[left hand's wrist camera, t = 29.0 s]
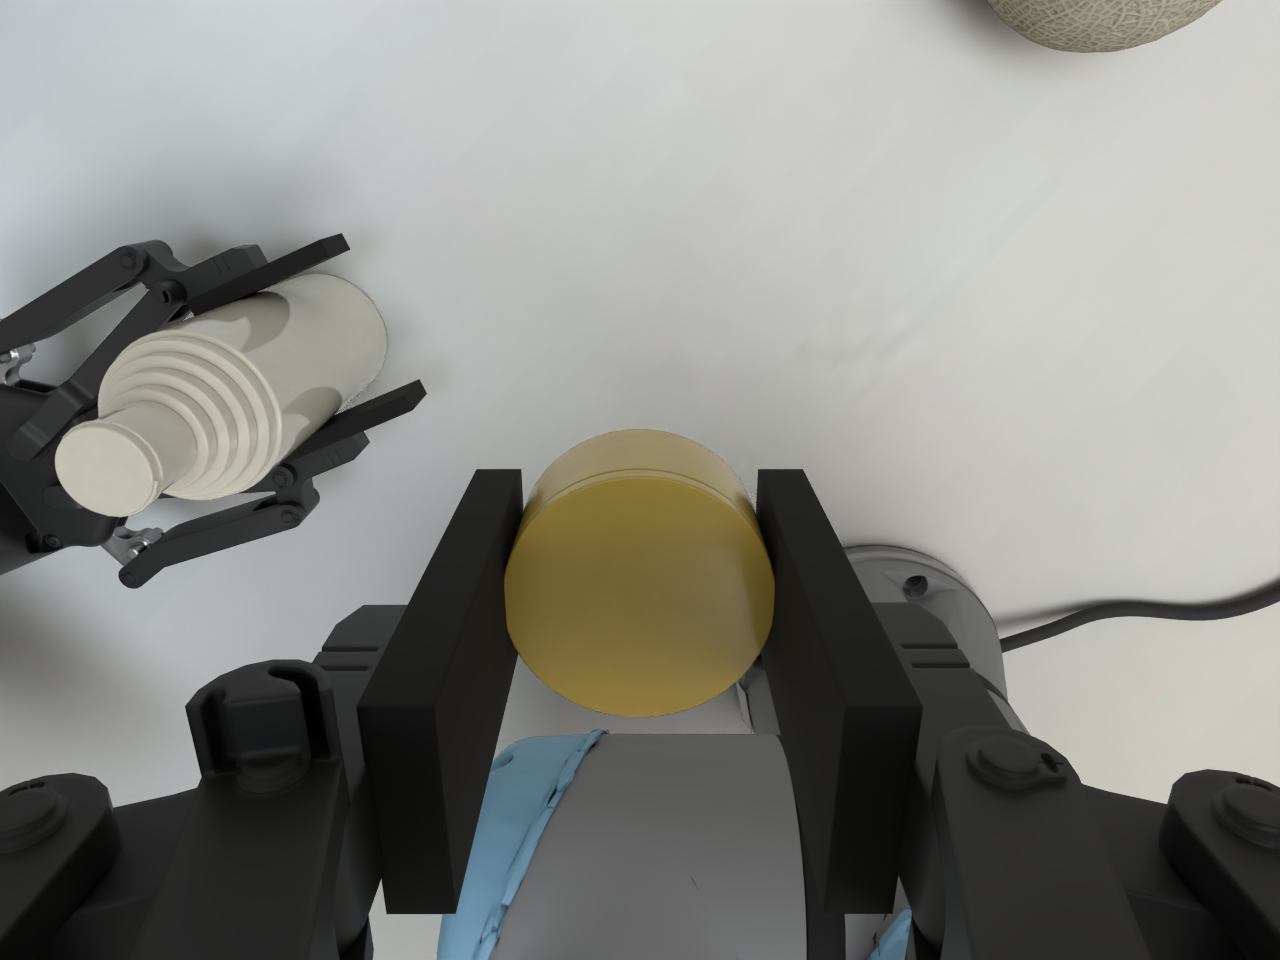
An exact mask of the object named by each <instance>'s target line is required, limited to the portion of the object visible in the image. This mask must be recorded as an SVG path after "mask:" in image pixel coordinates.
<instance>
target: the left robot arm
mask: <svg viewBox="0 0 1280 960" xmlns="http://www.w3.org/2000/svg"><path fill="white" fill-rule="evenodd" d="M522 515H523V494H522V476H521V469H477V470H476V472H475V474H474V475H473V477H472V479H471V481H470V483H469V485H468V487H467V489H466V491H465V493H464V495H463V497H462V499H461V501H460V503H459V505H458V507H457V509H456V511H455V513H454V515H453V517H452V519H451V521H450V523H449V525H448V527H447V529H446V531H445V533H444V535H443V537H442V539H441V541H440V543H439V544H438V546H437V548H436V550H435V552H434V554H433V556H432V558H431V560H430V562H429V564H428V566H427V568H426V570H425V572H424V574H423V576H422V578H421V580H420V582H419V584H418V586H417V588H416V590H415V592H414V594H413V596H412V598H411V600H410V602H409V604H408V605H363V606H362V607H360V608H359V609H357V610H356V611H355V612H353V613H352V614H350V615H349V616H348V617H346V618H345V619H343V620H342V621H341V622H339V623H338V624H336V626H335V628H334V629H333V631H332V632H331V634H330V635H329V637H328V639H327V640H326V642H325V643H324V645H323V646H322V652H319V653H318V654H317V656H316V657H315V659H314V661H313V662H312V663H309V662H306V661H302V660H269V661H264V662H259V663H255V664H250V665H245V666H243V667H240V668H238V669H235V670H233V671H230V672H228V673H225V674H223V675H220V676H219V677H217V678H216V679H214V680H213V681H211V682H210V683H208V684H207V685H205V686H204V687H202V688H201V689H199V690H198V691H197V692H196V694H195V695H194V696H193V697H192V698H191V700H190V701H189V702H188V703H187V705H186V706H185V708H186V713H187V717H188V721H189V725H190V730H191V734H192V738H193V742H194V746H195V751H196V755H197V759H198V763H199V767H200V772H201V776H202V778H201V780H200V783H199V785H198V787H197V788H195V789H191V790H188V791H184V792H181V793H177V794H174V795H170V796H165V797H161V798H156V799H151V800H147V801H142V802H138V803H133V804H129V805H124V806H119V807H115V808H113V806H112V802H111V799H110V795H109V792H108V788H107V787H106V786H105V785H103V784H102V783H101V782H100V781H99V780H98V779H97V778H95V777H92V776H87V775H81V774H76V773H68V774H58V775H48V776H42V777H39V778H36V779H31V780H29V781H25V782H22V783H19V784H16V785H13V786H11V787H9V788H7V789H5V790H3V791H1V792H0V960H373V950H374V949H373V942H372V935H371V928H370V922H369V916H368V914H369V912H370V909H371V906H372V903H373V900H374V897H375V895H376V892H377V889H378V886H379V883H380V880H381V879H382V885H383V892H384V899H385V906H386V912H387V914H443V916H442V921H441V928H440V934H439V941H438V949H437V960H1280V788H1279V787H1277V786H1275V785H1273V784H1271V783H1269V782H1267V781H1264V780H1261V779H1258V778H1255V777H1250V776H1248V775H1244V774H1240V773H1237V772H1229V771H1220V770H1210V769H1206V770H1201V771H1195V772H1190V773H1185V774H1184V775H1183V776H1182V777H1181V778H1180V779H1178V780H1177V781H1176V782H1175V783H1174V784H1173V786H1172V789H1171V793H1170V796H1169V800H1168V803H1167V804H1163V803H1158V802H1154V801H1149V800H1145V799H1140V798H1135V797H1131V796H1126V795H1122V794H1117V793H1112V792H1108V791H1104V790H1101V789H1097V788H1094V787H1090V786H1087V785H1084V784H1082V783H1081V781H1080V779H1079V776H1078V775H1077V773H1076V772H1075V770H1074V769H1073V767H1072V766H1071V764H1070V763H1069V762H1068V760H1067V759H1066V758H1065V757H1064V756H1063V755H1061V754H1060V753H1059V752H1057V751H1056V750H1055V749H1054V748H1052V747H1051V746H1050V745H1048V744H1047V743H1046V742H1043V741H1041V740H1039V739H1037V738H1035V737H1033V736H1031V735H1030V734H1029V732H1028V731H1027V729H1026V728H1025V726H1024V725H1023V723H1022V722H1021V720H1020V719H1019V718H1018V716H1017V715H1016V713H1015V712H1014V710H1013V709H1012V707H1011V706H1010V704H1009V703H1008V697H1007V689H1006V681H1005V674H1004V666H1003V658H1002V653H1004V652H1007V651H1010V650H1013V649H1016V648H1019V647H1022V646H1025V645H1028V644H1031V643H1035V642H1038V641H1041V640H1044V639H1047V638H1050V637H1053V636H1056V635H1058V634H1061V633H1063V632H1066V631H1068V630H1071V629H1073V628H1075V627H1078V626H1080V625H1083V624H1086V623H1089V622H1092V621H1096V620H1100V619H1105V618H1112V617H1124V616H1142V617H1156V618H1166V619H1177V620H1217V619H1224V618H1230V617H1234V616H1239V615H1243V614H1246V613H1250V612H1253V611H1256V610H1259V609H1262V608H1264V607H1267V606H1270V605H1272V604H1274V603H1277V602H1279V601H1280V586H1278V587H1276V588H1273V589H1271V590H1269V591H1267V592H1264V593H1262V594H1260V595H1257V596H1254V597H1252V598H1249V599H1246V600H1242V601H1239V602H1235V603H1231V604H1226V605H1221V606H1214V607H1202V608H1189V607H1174V606H1163V605H1153V604H1138V603H1123V604H1110V605H1103V606H1097V607H1093V608H1089V609H1085V610H1082V611H1079V612H1077V613H1074V614H1071V615H1069V616H1067V617H1064V618H1062V619H1059V620H1057V621H1054V622H1052V623H1049V624H1046V625H1043V626H1040V627H1037V628H1034V629H1031V630H1028V631H1025V632H1021V633H1018V634H1015V635H1012V636H1009V637H1006V638H1003V639H1000V640H999V637H998V633H997V630H996V627H995V625H994V622H993V620H992V618H991V616H990V614H989V613H988V611H987V609H986V608H985V606H984V605H983V604H982V602H981V601H980V600H979V598H978V597H977V595H976V594H975V593H974V591H973V590H972V589H971V587H970V586H969V585H968V584H967V583H966V582H965V581H964V580H963V579H962V578H961V577H960V576H959V575H958V574H957V573H955V572H954V571H953V570H952V569H950V568H949V567H947V566H946V565H944V564H943V563H941V562H939V561H937V560H935V559H933V558H931V557H929V556H926V555H924V554H921V553H918V552H914V551H911V550H907V549H902V548H897V547H888V546H863V547H854V548H847V549H843V548H842V546H841V544H840V542H839V540H838V538H837V536H836V534H835V532H834V530H833V528H832V526H831V524H830V522H829V520H828V518H827V516H826V514H825V512H824V510H823V508H822V506H821V504H820V502H819V500H818V498H817V496H816V494H815V492H814V490H813V488H812V486H811V485H810V483H809V481H808V479H807V477H806V475H805V473H804V471H803V469H758V484H757V502H756V517H757V520H758V523H759V526H760V529H761V533H762V536H763V539H764V542H765V545H766V548H767V551H768V554H769V558H770V561H771V564H772V568H773V572H774V576H775V597H774V612H773V624H772V628H771V630H770V633H769V636H768V639H767V641H766V643H765V645H764V647H763V649H762V651H761V653H760V654H759V656H758V657H757V658H756V660H755V661H754V663H753V664H752V666H751V667H750V668H749V669H748V670H747V671H746V672H745V673H744V674H743V676H742V677H741V678H740V679H739V680H737V682H736V686H737V691H738V697H739V702H740V707H741V713H742V718H743V722H744V723H745V724H746V726H747V727H748V728H749V730H750V731H751V733H752V730H753V731H754V733H755V734H610V733H609V731H608V730H604V729H597V730H593V731H592V732H591V733H589V734H581V735H562V736H543V737H530V738H525V739H522V740H519V741H517V742H515V743H513V744H511V745H510V746H509V747H507V748H506V749H504V750H503V751H502V752H501V753H500V754H499V755H498V756H497V757H496V759H495V760H494V761H493V757H494V753H495V749H496V744H497V740H498V736H499V732H500V728H501V723H502V719H503V715H504V711H505V707H506V703H507V698H508V694H509V690H510V686H511V682H512V678H513V673H514V669H515V665H516V661H517V657H518V652H517V650H516V648H515V646H514V645H513V643H512V640H511V638H510V635H509V633H508V630H507V621H506V606H505V591H504V574H505V569H506V565H507V562H508V559H509V556H510V552H511V549H512V546H513V543H514V540H515V537H516V534H517V531H518V527H519V524H520V521H521V518H522ZM751 728H752V729H751ZM492 761H493V763H492Z"/></svg>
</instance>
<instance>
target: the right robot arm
mask: <svg viewBox="0 0 1280 960" xmlns="http://www.w3.org/2000/svg"><path fill="white" fill-rule="evenodd" d="M348 250H350V248H349V246H348V244H347V242H346V240H345V238H344V236H343V235H342V233H341V234H337V235H334V236H331V237H327V238H324V239H321V240H318V241H316V242H314V243H312V244H310V245H307V246H305V247H303V248H301V249H299V250H297V251H294V252H292V253H290V254H288V255H286V256H284V257H281V258H279V259H277V260H275V261H273V262H271V263H268V261H267V260H266V258H265V256H264V254H263V253H262V251H261V249H260V247H259V246H258V245H244V246H240V247H236V248H232V249H229V250H227V251H225V252H223V253H221V254H219V255H217V256H214V257H212V258H210V259H208V260H206V261H204V262H202V263H199V264H197V265H195V266H193V267H187V266H185V265H183V264H181V263H180V262H179V261H178V260H177V259H175V258H174V257H173V253H172V251H171V249H170V247H169V246H168V245H167V244H166V243H165V242H163V241H161V240H152V241H147V242H142V243H137V244H131V245H126V246H122V247H119V248H117V249H116V250H114V251H113V252H111V253H109V254H108V255H106V256H105V257H103V258H101V259H100V260H98V261H97V262H95V263H93V264H92V265H90V266H88V267H87V268H85V269H84V270H82V271H80V272H79V273H77V274H76V275H74V276H72V277H71V278H69V279H67V280H66V281H64V282H63V283H61V284H59V285H58V286H56V287H55V288H53V289H51V290H50V291H48V292H46V293H45V294H43V295H42V296H40V297H38V298H37V299H35V300H34V301H32V302H30V303H29V304H27V305H26V306H24V307H22V308H21V309H19V310H17V311H16V312H14V313H13V314H11V315H9V316H8V317H6V318H4V319H0V575H2V574H4V573H7V572H9V571H12V570H14V569H16V568H19V567H21V566H23V565H26V564H28V563H30V562H33V561H35V560H38V559H40V558H42V557H45V556H47V555H49V554H52V553H54V552H57V551H59V550H61V549H64V548H66V547H70V546H86V547H94V546H99V545H101V546H102V547H103V548H104V549H105V550H106V551H107V552H108V553H109V554H111V555H112V556H113V557H114V558H115V559H116V560H117V561H118V562H120V563H121V564H122V565H123V566H124V567H123V568H122V569H121V570H120V571H119V579H120V581H121V582H122V584H123V585H125V586H126V587H129V588H139V587H141V586H142V585H143V584H144V583H146V582H147V581H148V580H149V579H151V578H152V577H153V576H154V575H155V574H157V573H158V572H159V571H160V570H162V569H163V568H164V567H167V566H170V565H174V564H177V563H180V562H184V561H187V560H190V559H193V558H197V557H200V556H203V555H207V554H210V553H213V552H216V551H220V550H223V549H226V548H230V547H233V546H236V545H239V544H243V543H246V542H249V541H253V540H256V539H259V538H262V537H266V536H269V535H272V534H276V533H279V532H282V531H285V530H289V529H292V528H295V527H297V526H299V524H300V523H301V522H302V521H303V520H304V519H305V518H306V517H307V516H308V514H309V513H310V512H311V511H312V510H313V509H314V508H315V507H316V505H317V504H318V503H319V500H320V496H319V493H318V492H317V490H316V489H315V488H313V483H312V477H314V476H316V475H318V474H321V473H323V472H326V471H328V470H330V469H333V468H335V467H338V466H340V465H342V464H345V463H347V462H350V461H352V460H354V459H355V458H356V457H357V456H358V455H359V454H360V453H361V451H362V450H363V449H364V448H365V447H366V446H367V445H368V444H369V443H370V441H369V440H368V438H367V436H366V434H365V433H364V431H365V430H367V429H369V428H372V427H374V426H376V425H379V424H381V423H384V422H386V421H388V420H391V419H393V418H395V417H398V416H400V415H403V414H405V413H407V412H410V411H412V410H413V409H414V408H415V407H416V406H417V405H418V403H419V402H420V401H421V400H422V399H423V398H424V396H425V395H426V394H427V393H426V391H425V389H424V387H423V385H422V383H421V382H420V380H416V381H414V382H412V383H409V384H407V385H405V386H402V387H400V388H398V389H395V390H393V391H390V392H388V393H386V394H383V395H381V396H379V397H376V398H374V399H372V400H369V401H367V402H365V403H362V404H360V405H358V406H355V407H353V408H351V409H348V410H346V411H343V412H341V413H339V414H336V415H334V416H333V417H332V418H330V419H329V420H328V421H327V422H326V423H325V424H324V425H323V426H321V427H320V428H319V429H318V430H317V431H316V432H315V433H314V434H312V435H311V436H310V437H309V438H308V439H307V440H306V441H305V442H303V443H302V444H301V445H300V446H299V447H298V448H297V449H296V450H294V451H293V452H292V453H291V454H290V455H289V456H288V457H287V458H285V459H284V460H283V461H282V462H281V463H280V464H279V465H278V466H276V467H275V468H274V469H273V470H272V471H271V472H270V473H269V474H267V475H266V476H265V477H264V478H263V479H262V480H261V481H259V482H258V483H257V484H255V485H254V486H252V487H250V488H249V489H247V490H245V491H242V492H240V493H252V492H267V491H275V492H276V494H274V495H271V496H268V497H264V498H261V499H258V500H255V501H252V502H248V503H245V504H242V505H239V506H235V507H232V508H229V509H226V510H223V511H219V512H216V513H213V514H210V515H206V516H203V517H200V518H197V519H193V520H190V521H187V522H184V523H182V524H179V525H177V526H175V527H173V528H171V529H170V530H168V531H167V532H165V533H164V532H163V530H162V529H160V528H154V529H151V528H145V529H142V530H140V531H132V530H129V529H127V528H126V527H124V526H125V523H126V521H127V519H128V516H124V517H115V516H107V515H103V514H99V513H96V512H94V511H91V510H89V509H87V508H85V507H83V506H82V505H80V504H79V503H78V502H76V501H75V500H74V499H73V498H72V497H71V496H70V495H69V494H68V493H67V492H66V491H65V489H64V488H63V486H62V485H61V483H60V481H59V479H58V476H57V473H56V469H55V455H56V451H57V448H58V445H59V444H60V442H61V440H62V438H63V436H64V435H65V434H66V433H67V432H68V431H69V430H70V429H71V428H73V427H75V426H77V425H79V424H81V423H83V422H85V421H91V420H95V419H97V418H99V415H98V396H99V391H100V386H101V383H102V381H103V378H104V375H105V374H106V372H107V370H108V369H109V367H110V366H111V365H112V363H113V362H114V361H115V360H116V358H117V357H118V356H119V354H120V353H121V352H122V351H123V350H124V349H125V348H126V347H127V346H129V345H130V344H131V343H132V342H134V341H136V340H137V339H139V338H141V337H143V336H146V335H148V334H151V333H153V332H156V331H158V330H161V329H164V328H166V327H169V326H171V325H174V324H176V323H179V322H182V321H183V320H184V319H185V318H186V317H187V316H188V314H189V313H190V312H191V311H192V313H193V314H194V316H197V315H200V314H202V313H205V312H207V311H210V310H213V309H215V308H218V307H220V306H223V305H225V304H228V303H231V302H233V301H236V300H238V299H241V298H244V297H246V296H249V295H251V294H254V293H256V292H258V291H261V290H263V289H265V288H267V287H269V286H271V285H274V284H276V283H278V282H280V281H282V280H285V279H287V278H289V277H291V276H293V275H296V274H298V273H300V272H302V271H304V270H306V269H309V268H311V267H313V266H315V265H317V264H320V263H322V262H324V261H326V260H328V259H331V258H333V257H335V256H337V255H339V254H341V253H344V252H346V251H348ZM141 282H142V283H143V284H144V285H145V286H146V288H147V289H150V290H149V291H148V292H147V293H146V294H145V296H144V297H143V298H142V299H141V300H140V301H139V302H138V303H137V304H136V306H135V307H134V308H133V309H132V310H131V311H130V312H129V313H128V314H127V316H126V317H125V318H124V319H123V320H122V321H121V322H120V323H119V324H118V326H117V327H116V328H115V329H114V330H113V331H112V332H111V333H110V334H109V336H108V337H107V338H106V339H105V340H104V341H103V342H102V343H101V344H100V346H99V347H98V348H97V349H96V350H95V351H94V352H93V353H92V354H91V356H90V357H89V358H88V359H87V360H86V361H85V362H84V363H83V365H82V366H81V367H80V368H79V369H78V370H77V371H76V372H75V373H74V375H73V376H72V377H71V378H70V379H68V380H67V381H66V382H64V383H63V384H61V385H60V386H59V387H58V386H53V385H49V384H44V383H39V382H35V381H30V380H25V379H21V378H20V377H19V369H20V367H21V366H22V365H23V364H25V363H27V362H29V361H30V360H31V358H32V353H34V352H35V350H36V347H35V345H34V342H37V341H40V340H43V339H46V338H49V337H51V336H53V335H55V334H57V333H59V332H60V331H62V330H64V329H65V328H67V327H69V326H70V325H72V324H74V323H75V322H77V321H79V320H80V319H82V318H83V317H85V316H87V315H88V314H90V313H92V312H93V311H95V310H97V309H98V308H100V307H102V306H103V305H105V304H107V303H108V302H110V301H112V300H113V299H115V298H116V297H118V296H120V295H121V294H123V293H125V292H126V291H128V290H130V289H131V288H133V287H135V286H136V285H138V284H140V283H141ZM174 497H175V496H171V495H168V494H165V493H161V494H160V495H159V497H158V498H157V499H159V498H174Z"/></svg>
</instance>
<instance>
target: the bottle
mask: <svg viewBox="0 0 1280 960" xmlns="http://www.w3.org/2000/svg"><path fill="white" fill-rule="evenodd" d="M386 352H387V335H386V330H385V326H384V323H383V320H382V318H381V316H380V314H379V312H378V310H377V308H376V307H375V305H374V304H373V303H372V301H371V300H370V299H369V298H368V297H367V296H366V295H365V294H364V293H363V292H362V291H361V290H360V289H358V288H357V287H356V286H354V285H352V284H351V283H349V282H347V281H345V280H343V279H341V278H338V277H334V276H331V275H325V274H306V275H302V276H298V277H295V278H293V279H290V280H287V281H285V282H282V283H280V284H277V285H275V286H272V287H269V288H267V289H264V290H262V291H259V292H256V293H254V294H251V295H249V296H246V297H244V298H241V299H238V300H236V301H233V302H231V303H228V304H225V305H223V306H220V307H218V308H215V309H213V310H210V311H207V312H205V313H202V314H200V315H197V316H195V317H192V318H189V319H187V320H184V321H182V322H179V323H176V324H174V325H171V326H169V327H166V328H164V329H161V330H158V331H156V332H153V333H151V334H148V335H146V336H143V337H141V338H139V339H137V340H136V341H134V342H132V343H131V344H130V345H129V346H127V347H126V348H125V349H124V350H123V351H122V352H121V353H120V354H119V356H118V357H117V358H116V360H115V361H114V362H113V363H112V365H111V366H110V367H109V369H108V370H107V372H106V374H105V375H104V378H103V381H102V383H101V386H100V391H99V396H98V415H99V418H97V419H95V420H91V421H85V422H83V423H81V424H79V425H77V426H75V427H73V428H71V429H70V430H69V431H68V432H67V433H66V434H65V435H64V436H63V438H62V440H61V442H60V444H59V445H58V448H57V451H56V455H55V469H56V473H57V476H58V479H59V481H60V483H61V485H62V486H63V488H64V489H65V491H66V492H67V493H68V494H69V495H70V496H71V497H72V498H73V499H74V500H75V501H76V502H78V503H79V504H80V505H82V506H83V507H85V508H87V509H89V510H91V511H94V512H96V513H99V514H103V515H107V516H115V517H124V516H130V515H134V514H136V513H138V512H141V511H143V510H144V509H145V508H146V507H148V506H150V505H151V504H152V503H153V502H154V501H155V500H156V499H157V498H158V497H159V495H160V494H161V493H165V494H168V495H171V496H175V497H178V498H183V499H190V500H211V499H217V498H222V497H225V496H229V495H234V494H237V493H240V492H242V491H245V490H247V489H249V488H250V487H252V486H254V485H255V484H257V483H258V482H259V481H261V480H262V479H263V478H264V477H265V476H266V475H267V474H269V473H270V472H271V471H272V470H273V469H274V468H275V467H276V466H278V465H279V464H280V463H281V462H282V461H283V460H284V459H285V458H287V457H288V456H289V455H290V454H291V453H292V452H293V451H294V450H296V449H297V448H298V447H299V446H300V445H301V444H302V443H303V442H305V441H306V440H307V439H308V438H309V437H310V436H311V435H312V434H314V433H315V432H316V431H317V430H318V429H319V428H320V427H321V426H323V425H324V424H325V423H326V422H327V421H328V420H329V419H330V418H332V417H333V416H334V415H335V414H336V413H337V412H338V411H339V410H341V409H342V408H343V407H344V406H345V405H346V404H347V403H348V402H350V401H351V400H352V399H353V398H354V397H355V396H356V395H357V394H359V393H360V392H361V391H362V390H363V389H364V388H365V387H366V386H368V385H369V384H370V383H371V382H372V381H373V380H374V379H375V377H376V376H377V375H378V373H379V372H380V370H381V368H382V366H383V364H384V361H385V357H386Z"/></svg>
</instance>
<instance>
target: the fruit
mask: <svg viewBox="0 0 1280 960" xmlns="http://www.w3.org/2000/svg"><path fill="white" fill-rule="evenodd" d="M1220 1H1222V0H988V2H989V4H990V5H991V7H992V8H993V10H994V11H995V12H996V13H997V14H998V16H999V17H1000V18H1001V20H1003V21H1004V22H1005V23H1006V24H1007V25H1009V26H1010V27H1011V28H1012V29H1014V30H1015V31H1017V32H1018V33H1019V34H1021V35H1022V36H1024V37H1025V38H1027V39H1029V40H1031V41H1033V42H1035V43H1037V44H1040V45H1042V46H1045V47H1048V48H1051V49H1055V50H1061V51H1069V52H1081V53H1089V52H1114V51H1120V50H1124V49H1128V48H1133V47H1136V46H1139V45H1142V44H1146V43H1149V42H1152V41H1156V40H1158V39H1160V38H1162V37H1163V36H1165V35H1168V34H1170V33H1172V32H1174V31H1176V30H1178V29H1180V28H1182V27H1185V26H1187V25H1188V24H1190V23H1191V22H1193V21H1195V20H1196V19H1198V18H1200V17H1202V16H1203V15H1204V14H1205V13H1206V12H1207V11H1209V10H1210V9H1211V8H1213V7H1214V6H1216V5H1217V4H1218V3H1219V2H1220Z"/></svg>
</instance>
